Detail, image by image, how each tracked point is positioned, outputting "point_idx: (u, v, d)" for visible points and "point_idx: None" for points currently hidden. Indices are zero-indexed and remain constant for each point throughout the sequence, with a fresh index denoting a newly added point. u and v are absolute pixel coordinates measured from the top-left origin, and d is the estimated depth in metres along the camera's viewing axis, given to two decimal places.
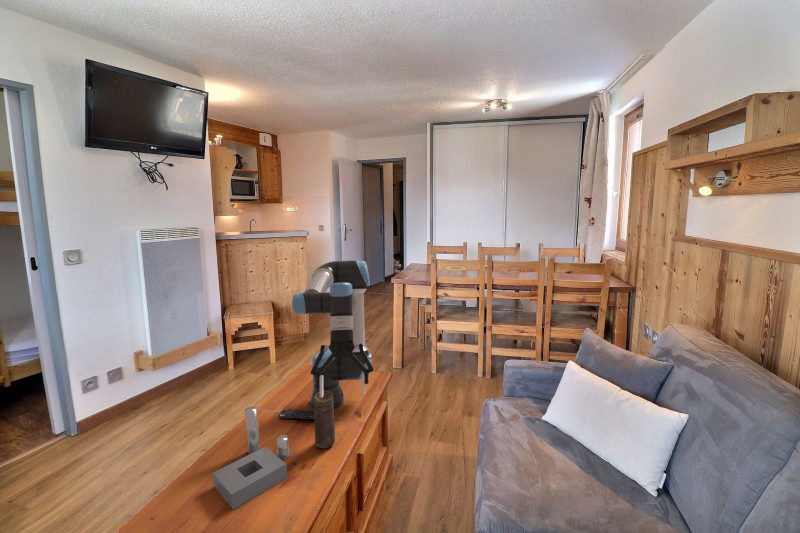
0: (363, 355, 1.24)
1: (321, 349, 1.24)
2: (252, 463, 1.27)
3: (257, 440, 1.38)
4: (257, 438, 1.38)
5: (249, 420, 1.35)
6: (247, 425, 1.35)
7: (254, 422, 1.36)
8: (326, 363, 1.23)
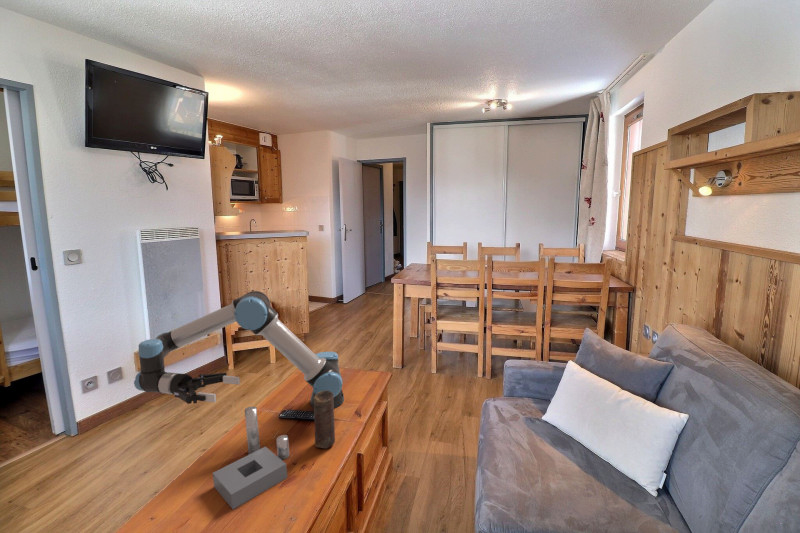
0: None
1: None
2: (252, 463, 1.27)
3: (257, 440, 1.38)
4: (257, 438, 1.38)
5: (249, 420, 1.35)
6: (247, 425, 1.35)
7: (254, 422, 1.36)
8: None
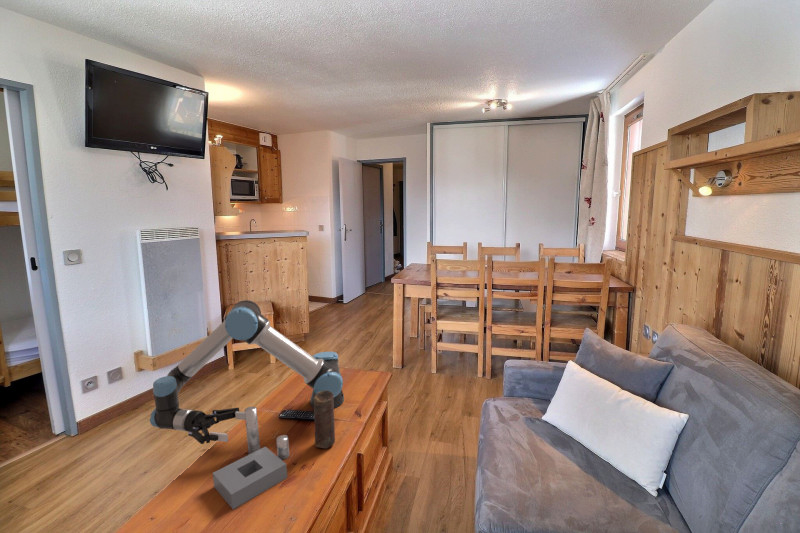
0: None
1: None
2: (252, 463, 1.27)
3: (257, 440, 1.38)
4: (257, 438, 1.38)
5: (249, 420, 1.35)
6: (247, 425, 1.35)
7: (254, 422, 1.36)
8: None
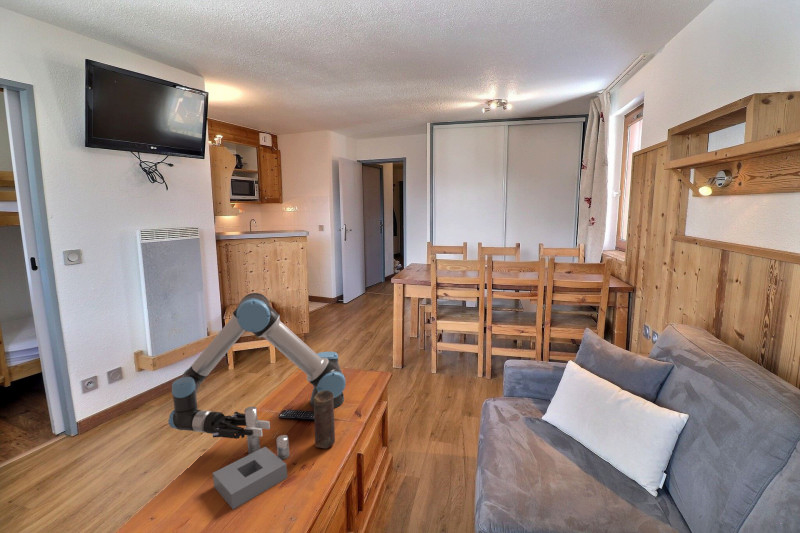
0: None
1: None
2: (252, 463, 1.27)
3: (257, 440, 1.38)
4: (257, 438, 1.38)
5: (249, 420, 1.35)
6: (247, 425, 1.35)
7: (254, 422, 1.36)
8: None
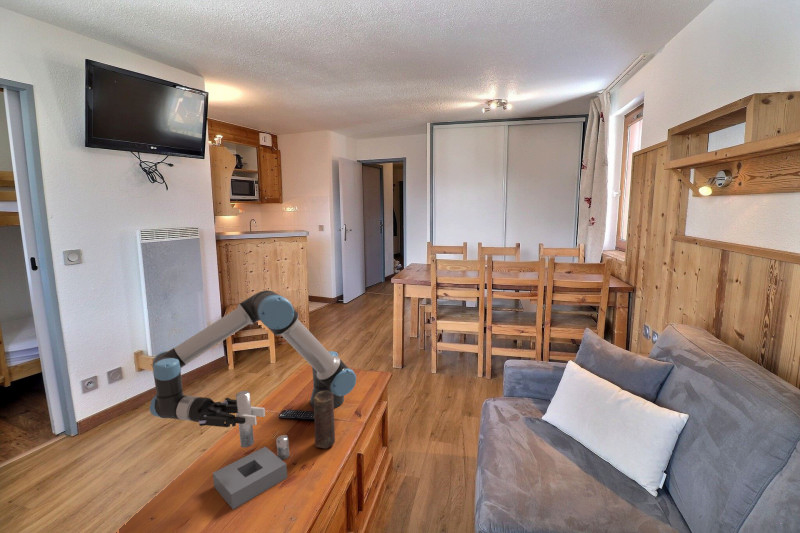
0: None
1: None
2: (252, 463, 1.27)
3: (251, 429, 1.20)
4: (250, 427, 1.20)
5: (241, 406, 1.18)
6: (239, 412, 1.18)
7: (247, 409, 1.19)
8: None
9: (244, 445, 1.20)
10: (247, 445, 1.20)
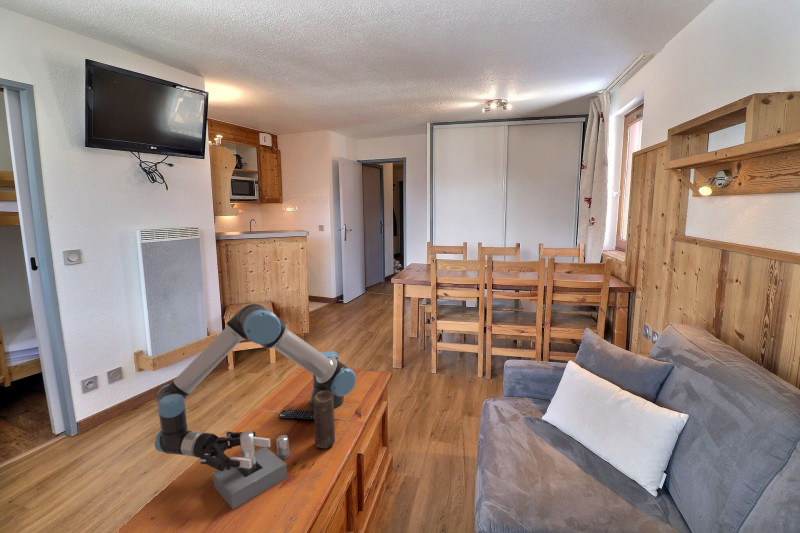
0: None
1: None
2: None
3: (254, 469, 1.22)
4: (254, 467, 1.22)
5: (245, 447, 1.20)
6: (243, 453, 1.20)
7: (251, 449, 1.21)
8: None
9: None
10: None
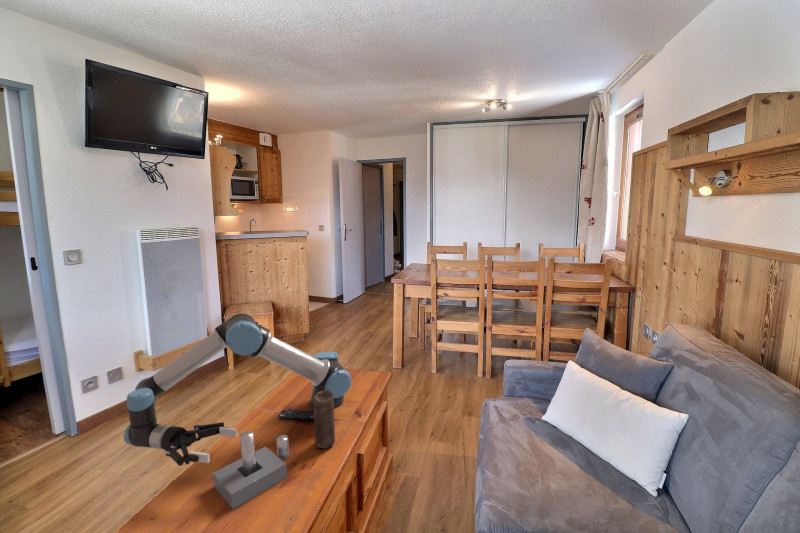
0: None
1: None
2: None
3: (254, 469, 1.22)
4: (254, 467, 1.22)
5: (245, 447, 1.20)
6: (243, 453, 1.20)
7: (251, 449, 1.21)
8: None
9: None
10: None
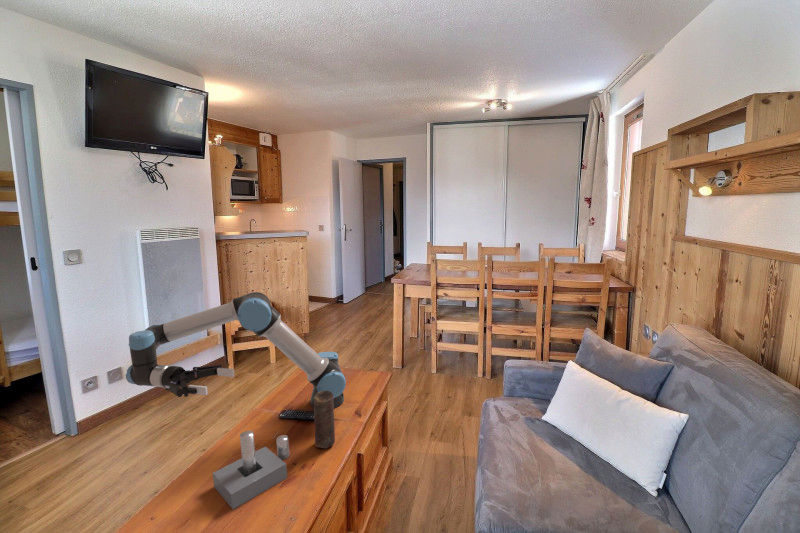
0: None
1: None
2: None
3: (254, 469, 1.22)
4: (254, 467, 1.22)
5: (245, 446, 1.20)
6: (243, 453, 1.20)
7: (251, 449, 1.21)
8: None
9: None
10: None
